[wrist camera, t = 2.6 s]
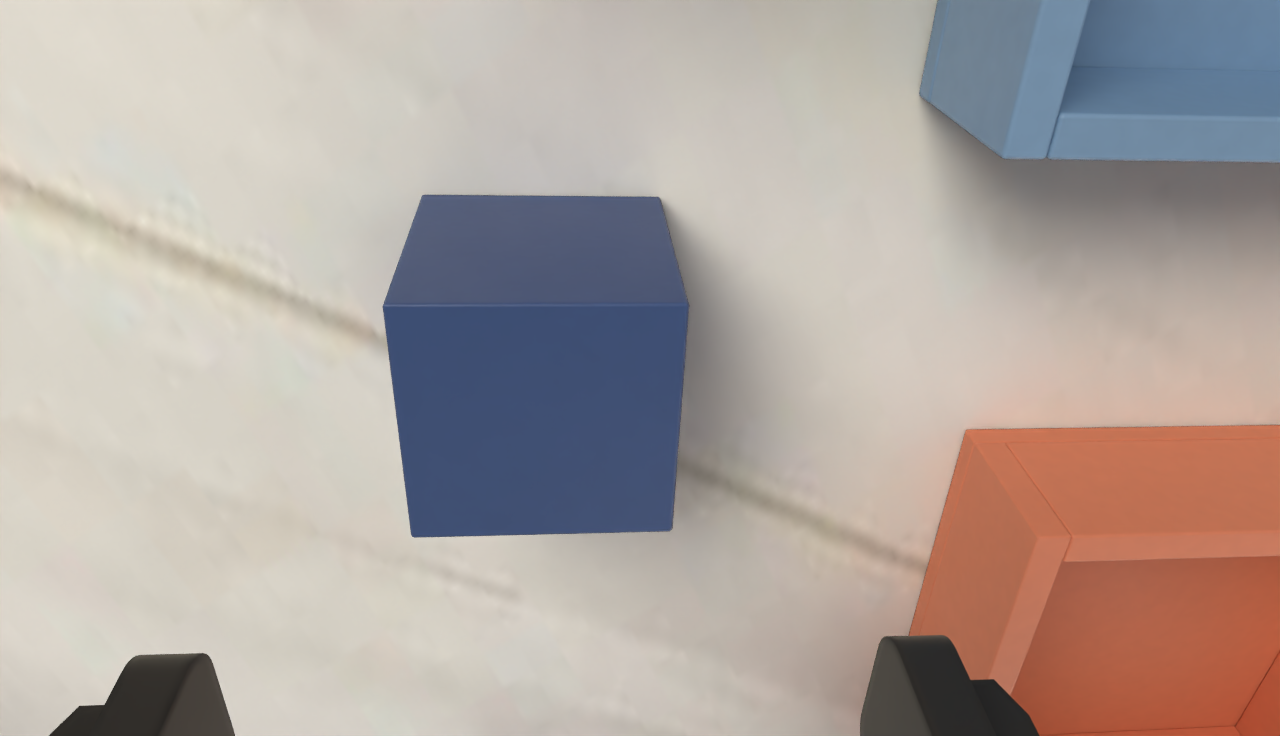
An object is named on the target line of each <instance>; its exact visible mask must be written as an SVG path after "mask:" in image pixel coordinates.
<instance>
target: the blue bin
mask: <svg viewBox="0 0 1280 736" xmlns="http://www.w3.org/2000/svg"><path fill="white" fill-rule="evenodd" d="M919 94H920V96H921V97H922V98H923V99H925V100H926V101H927V102H929V103H931V104H932V105H933V106H934V107H936V108H937V109H938V110H940V111H941V112H942V113H944V114H945V115H946V116H948V117H949V118H950V119H951V120H953V121H954V122H955V123H957V124H958V125H959V126H961V127H962V128H963V129H965V130H966V131H967V132H969V133H970V134H971V135H972V136H974V137H975V138H976V139H978V140H979V141H980V142H982V143H983V144H984V145H986V146H987V147H988V148H990V149H991V150H992V151H994V152H995V153H996V154H997V155H999V156H1000V157H1001V158H1003V159H1037V160H1040V159H1044V158H1045V157H1046V158H1048V159H1050V160H1118V161H1196V162H1274V163H1280V0H938V2H937V7H936V12H935V17H934V22H933V27H932V32H931V37H930V42H929V47H928V52H927V57H926V62H925V67H924V73H923V78H922V83H921V88H920V93H919Z"/></svg>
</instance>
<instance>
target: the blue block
mask: <svg viewBox="0 0 1280 736" xmlns="http://www.w3.org/2000/svg"><path fill="white" fill-rule="evenodd" d="M383 312H384V320H385V328H386V336H387V344H388V352H389V360H390V369H391V377H392V385H393V393H394V401H395V409H396V417H397V425H398V433H399V441H400V449H401V457H402V465H403V473H404V481H405V489H406V497H407V505H408V513H409V521H410V529H411V535H412V537H454V536H495V535H537V534H578V533H619V532H660V531H671V530H672V526H673V512H674V499H675V486H676V473H677V460H678V446H679V433H680V420H681V407H682V394H683V380H684V367H685V354H686V341H687V328H688V314H689V303H688V299H687V296H686V292H685V288H684V285H683V281H682V277H681V274H680V270H679V266H678V263H677V259H676V255H675V252H674V248H673V244H672V241H671V237H670V233H669V230H668V226H667V222H666V219H665V215H664V211H663V208H662V204H661V200H660V198H659V197H605V196H490V195H423V196H422V198H421V200H420V203H419V206H418V209H417V212H416V214H415V217H414V220H413V223H412V226H411V228H410V231H409V234H408V237H407V240H406V242H405V245H404V248H403V251H402V254H401V256H400V259H399V262H398V265H397V268H396V270H395V273H394V276H393V279H392V282H391V284H390V287H389V290H388V293H387V296H386V298H385V301H384V304H383Z"/></svg>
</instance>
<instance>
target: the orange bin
mask: <svg viewBox="0 0 1280 736" xmlns="http://www.w3.org/2000/svg"><path fill="white" fill-rule="evenodd" d="M921 635H945V636H946V637H948V638H949V639H950V640H951V641H952V643H953V644H954V646H955V648H956V650H957V652H958V654H959V656H960V658H961V661H962V663H963V665H964V667H965V669H966V671H967V673H968V676H969V678H970V680H983V679H994V680H995V681H996V682H997V683H998V684H999V685H1000V686H1001V687H1002V688H1003V689H1004V690H1005V691H1006V692H1007V693H1008V694H1009V695H1010V696H1011V697H1012V698H1013V699H1014V700H1015V701H1016V702H1017V703H1018V704H1019V705H1020V706H1021V707H1022V708H1023V709H1024V710H1025V711H1026V713H1027V714H1028V715H1029V716H1030V718H1031V720H1032V722H1033V724H1034V726H1035V728H1036V730H1037V732H1038V734H1039V735H1040V736H1280V425H1249V426H1181V427H1112V428H1044V429H976V430H966V431H965V435H964V439H963V442H962V446H961V449H960V453H959V457H958V460H957V464H956V467H955V471H954V474H953V478H952V482H951V485H950V489H949V492H948V496H947V500H946V503H945V507H944V510H943V514H942V518H941V521H940V525H939V528H938V532H937V535H936V539H935V543H934V546H933V550H932V553H931V557H930V561H929V564H928V568H927V571H926V575H925V578H924V582H923V586H922V589H921V593H920V596H919V600H918V604H917V607H916V611H915V614H914V618H913V621H912V625H911V629H910V632H909V636H921Z"/></svg>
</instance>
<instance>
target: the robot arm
mask: <svg viewBox="0 0 1280 736" xmlns="http://www.w3.org/2000/svg"><path fill="white" fill-rule="evenodd" d="M49 736H235V734H234V730H233V727H232V723H231V720H230V717H229V714H228V711H227V707H226V704H225V701H224V698H223V695H222V691H221V688H220V685H219V682H218V679H217V676H216V672H215V669H214V666H213V663H212V661H211V659H210V657H209V656H208V655H207V654H204V653H196V654H161V655H138V656H135V657H133V658H132V659H131V660H130V661H129V662H128V663H127V665H126V666H125V667H124V669H123V671H122V673H121V674H120V676H119V678H118V680H117V682H116V684H115V686H114V688H113V690H112V692H111V694H110V695H109V697H108V699H107V701H106V703H105V705H94V706H79V707H78V708H77V709H76V710H75V711H74V712H73V713H72V714H71V715H70V716H69V717H68V718H67V719H66V720H65V721H64V722H62V723H61V724H60V725H59V726H58V727H57V728H56V729H55V730H54V731H53V732H52V733H51V734H50V735H49ZM860 736H1040V735H1039V734H1038V732H1037V730H1036V728H1035V726H1034V724H1033V722H1032V720H1031V718H1030V716H1029V715H1028V714H1027V713H1026V711H1025V710H1024V709H1023V708H1022V707H1021V706H1020V705H1019V704H1018V703H1017V702H1016V701H1015V700H1014V699H1013V698H1012V697H1011V696H1010V695H1009V694H1008V693H1007V692H1006V691H1005V690H1004V689H1003V688H1002V687H1001V686H1000V685H999V684H998V683H997V682H996V681H995V680H994V679H983V680H970V678H969V676H968V673H967V671H966V669H965V667H964V665H963V663H962V661H961V658H960V656H959V654H958V652H957V650H956V648H955V646H954V644H953V643H952V641H951V640H950V639H949V638H948V637H946V636H945V635H921V636H886V637H883V638H882V639H881V641H880V643H879V646H878V650H877V654H876V658H875V662H874V666H873V670H872V674H871V678H870V682H869V686H868V690H867V694H866V698H865V702H864V705H863V709H862V714H861V721H860Z"/></svg>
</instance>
